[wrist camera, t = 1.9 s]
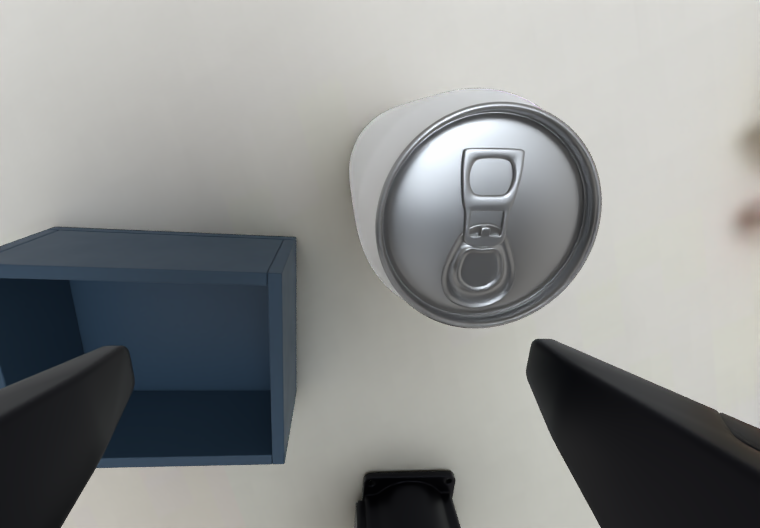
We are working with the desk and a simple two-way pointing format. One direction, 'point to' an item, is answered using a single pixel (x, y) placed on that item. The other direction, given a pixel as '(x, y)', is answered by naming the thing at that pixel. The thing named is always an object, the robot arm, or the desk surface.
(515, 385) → the desk surface
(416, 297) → the can
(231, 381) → the bin
